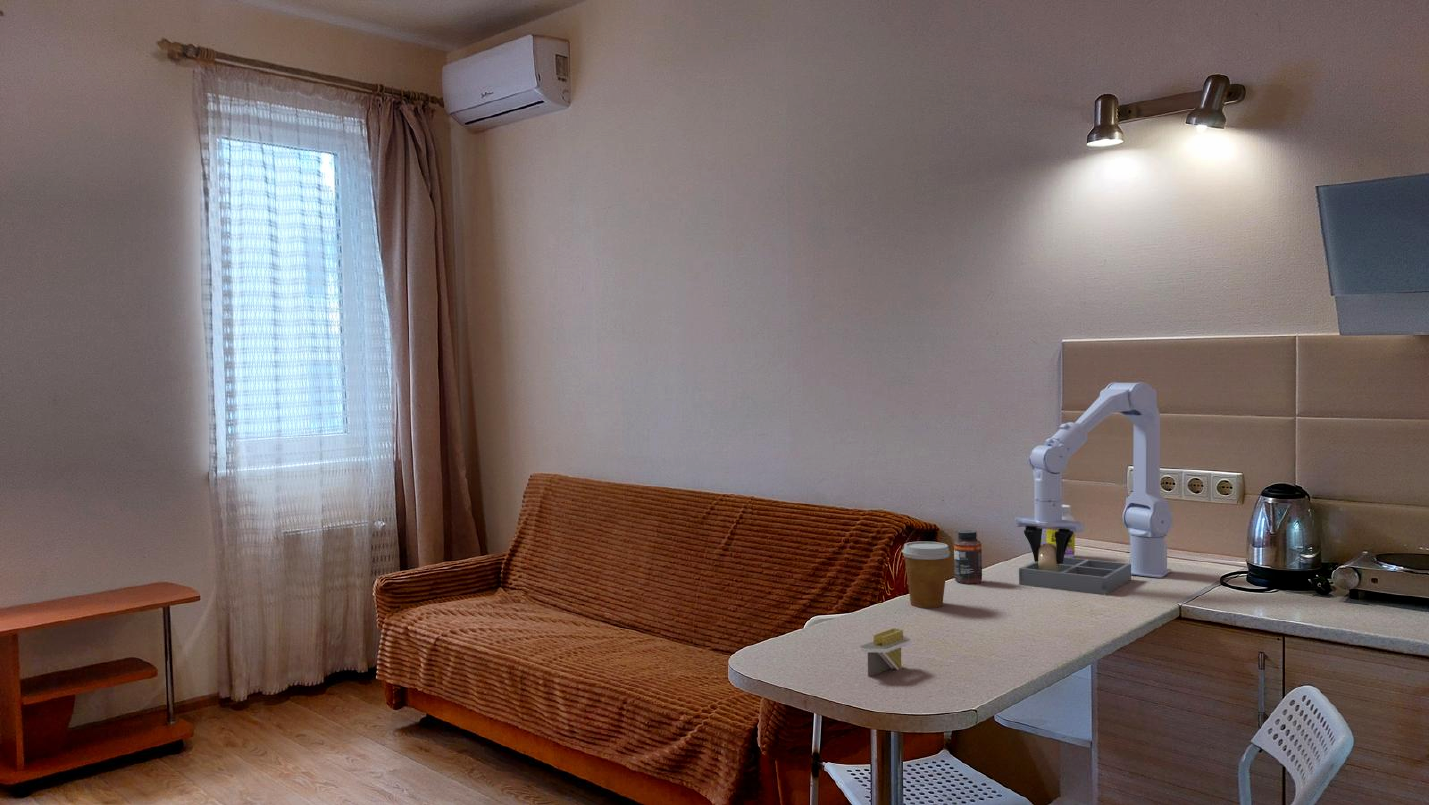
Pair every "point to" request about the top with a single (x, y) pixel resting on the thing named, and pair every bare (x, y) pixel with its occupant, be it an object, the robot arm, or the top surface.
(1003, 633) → the top surface
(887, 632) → the platform
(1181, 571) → the top surface
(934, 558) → the disposable coffee cup
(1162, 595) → the top surface
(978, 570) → the supplement bottle
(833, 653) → the top surface
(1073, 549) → the supplement bottle
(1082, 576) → the grey compartment tray
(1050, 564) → the beige rounded peg
